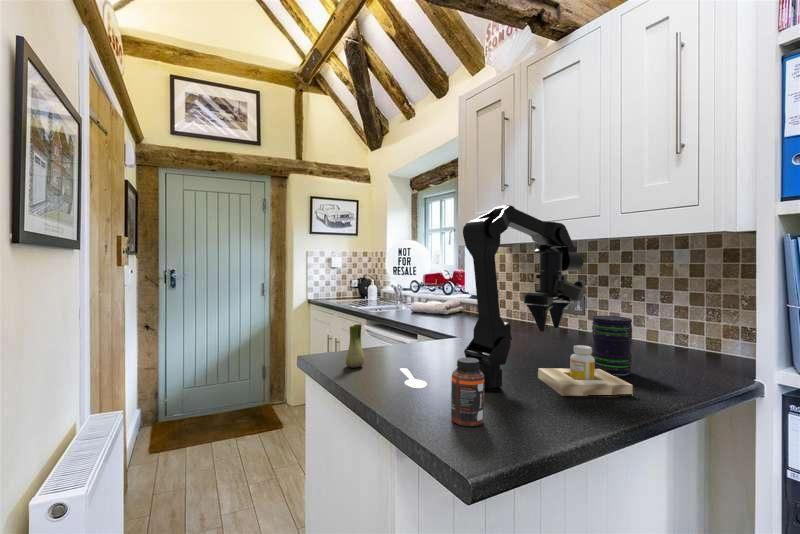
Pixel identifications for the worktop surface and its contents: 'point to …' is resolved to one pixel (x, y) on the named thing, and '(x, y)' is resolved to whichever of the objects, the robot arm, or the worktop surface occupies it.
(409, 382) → the spoon
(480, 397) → the supplement bottle
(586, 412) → the worktop surface
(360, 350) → the fennel bulb
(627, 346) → the storage jar
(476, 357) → the robot arm
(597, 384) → the wooden frame
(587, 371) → the supplement bottle
